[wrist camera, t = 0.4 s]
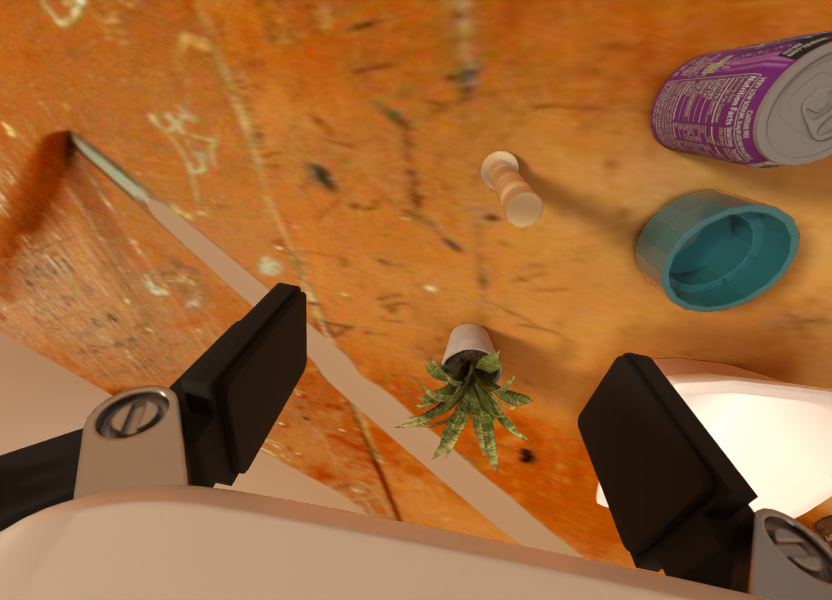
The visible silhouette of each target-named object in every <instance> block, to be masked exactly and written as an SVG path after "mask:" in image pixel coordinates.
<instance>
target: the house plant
mask: <svg viewBox="0 0 832 600" xmlns="http://www.w3.org/2000/svg"><path fill="white" fill-rule="evenodd" d="M429 358H430V357H429ZM424 359H425V358H424ZM430 360H431V361H432V363H433V364H434V366H433V365H430V364H429V363H427V362H426V360H425V363H426V368H427V371H428V373H429V374H430V375H431V376H432V377H433V378H435V379H438V380H441V381H445V382H446V383H447V385H446V386H445V387H443V388H441V389H438V390H436V391H433V392H432V391H431V390H429V389H427V388H424V387H422V386H420V387H421V388H422V389H423V390H424V391H425V392H426V394H427V395H425V396H424V397H421V398H419V397H418V398H419V399H421V400H422V401H424V403H422V404H417V405H414V406H412V407H426V406H429V405H432V404H436V403H438V402H440V403H439V404H438V405H437V406H435V407H434V408H432V409H428V410H426V411H427V412H425V413H424V414H421V415H418V416H412V417H410V418H415V419H417V420H415V421H413V422H410V423H406V424H402V425H400V426H398V427H396V428H405V427H432V426H437V425H441V424H444V423H447V422H448V424H447V426H446V427H445V429H444V431H443V433H442V438H441V443H440V445H439V447H438V448H437V450H436V451H435V454H434V457H433V459H434V458H436V457H438V456H439V455H441V454H442V453H443V452H445V451H446V449H447V455H446V457H447V456H448V455H449V453H450V451H451V450H452V448H453V447H454V445H455V443H456V440H457V438H458V437H459V435H460V433H461V432H462V430H463V428H464V426H465V424H466V422H467V420H468V417H469V414H470V411H471V415H472V422H473V428H474V430H475V432H474V433H476V435H477V437H478V441H479V445H480V448H481V450H482V452H483V454H484V457H485V452H486V454H487V455H488V457H489V460H490V462H491V465H492V466H493V467H494V469H495V470H496V471H497V472H498V456H497V448H496V442H495V436H494V426H493V420H494V419H495V417H496V418H497V419H498V420H499V421H500V423H501V424H502V425H503V426H504V427H505V428H506V429H508V430H509V431H510V432H511V433H512V434H514V435H515V436H517V437H519V438H522V439H524V440H526V441H528V440H527V438H526V437H525V436H524V435H523V434H522V433H520V432H519V431H518V430H517V428H516V427H515V425H514V424H513V423H512V422H511V421H510V420H509V419H508V418H507V417H506V416H508V415H504V413H503V412H502V411H501V409H500V408H499V406H498V404H497V403H499V404H500V405H502V406H505V407H506V408H508V409H510V410H511V409H515V408H517V407H508V406H506V405H505V404H503V403H501V402H499V401H498V400H497V399H496V398H495V397H494V396H493V395H492V393H491V392H493V393H494V394H495V395H496V396H498V397H499V398H500V399H501V400H503V401H505V402H506V403H509V404H512V405H515V406H521V405H524V404H528V403H530V402H532V401H533V400H531V399H530V398H529V397H528V396H526V395H523V394H520V393H517V392H513V391H509V390H507V389H508V388H509V386H510V385H511V384H512V383H513V381H514V378H515V375H514V376H513V377H512V378H511V379H510V380H509V381H508V382H507V383H505V384H504V385H503V386H502V387H500V386H498V385H496V384H497V383H498V381H499V380H500V378H501V375H502V366H501V363H500V350H499V351H498V352H497V353H496V352H495V349H494V347H493V344H492V342H491V340H490V337H489V335H488V332H487V331H486V330H485V329H484V328H483V327H482V326H480V325H477V324H473V323H466V324H462V325H459V326H458V327H456V328H455V329H454V330H453V331H452V333H451V335H450V338H449V342H448V345H447V348H446V352H445V355H444V358H443V362H442V364H439V363H438V362H436V361H435V360H434V359H431V358H430ZM456 390H457V392H456V393H455V391H456ZM454 393H455V394H454ZM496 402H497V403H496ZM457 403H458V404H457ZM456 404H457V406H456V409H455V411H454V413H453V414H452V415H451V416H450V417H449V418H447V419H445V420H443V421H441V422H438V423H434V424H429V425H421V424H424V423H426V422H429V421H431V420H432V419H434V418H436V417H438V416H440V415H443V414H444V413H446V412H448V411H449V410H451V409H452V408H453V407H454V406H455V405H456ZM424 410H425V409H424ZM418 425H421V426H418Z"/></svg>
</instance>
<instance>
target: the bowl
mask: <svg viewBox="0 0 832 600" xmlns="http://www.w3.org/2000/svg"><path fill="white" fill-rule="evenodd" d="M653 361H654V362H655V363H656V365H657V366H658V367H659V369H660V370H661V371H662V372H663V374H664V375H665V376H666V378H667V379H668V380H669V382H670V383H671V384H672V385H673V387H674V388H675V389H676V391H677V392H678V393H679V394H680V396H681V397H682V398H683V400H684V401H685V402H686V404H687V405H688V406H689V407H690V409H691V410H692V411H693V413H694V414H695V415H696V417H697V418H698V419H699V420H700V422H701V423H702V424H703V426H704V427H705V428H706V429H707V431H708V432H709V433H710V435H711V436H712V437H713V439H714V440H715V441H716V442H717V444H718V445H719V446H720V448H721V449H722V450H723V452H724V453H725V454H726V455H727V457H728V458H729V459H730V461H731V462H732V463H733V464H734V466H735V467H736V468H737V470H738V471H739V472H740V474H741V475H742V476H743V477H744V479H745V480H746V481H747V483H748V484H749V485H750V487H751V488H752V489H753V490H754V492H755V493H756V494H757V496H758V497H757V498H756V499H755V500H753V501H752V502H751V503H749V506H750V507H751V508H752V510H753V511H754V512H756V511H757V510H760V509H762V508H767V509H774V510H776V511H779V512H782V513H784V514H786V515H788V516H790V517H792V518H796V517H798V516H800V515H802V514H804V513H806V512H808V511H809V510H811V509H812V508H814V507H816V506H817V505H819V504H820V503H822V502H823V501H825V500H826V499H828V498H829V497H831V496H832V389H829V388H821V387H814V386H806V385H799V384H791V383H788V382H784V381H781V380H778V379H775V378H771V377H768V376H765V375H761V374H758V373H755V372H752V371H748V370H745V369H742V368H739V367H735V366H732V365H729V364H723V363H716V362H708V361H700V360H691V359H682V358H664V359H653ZM596 500H597V503H598V504H600V505H602V506H605V507H608V508H609V506H608V504H607V501H606V499H605V496H604V493H603V491H602V488H601V485H600V483H599V481H598V488H597V494H596Z"/></svg>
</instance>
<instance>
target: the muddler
mask: <svg viewBox="0 0 832 600" xmlns="http://www.w3.org/2000/svg"><path fill="white" fill-rule="evenodd" d="M518 173H519V164H518V161H517V159H516V158H515V157H514V156H513V155H512V154H511V153H510V152H508V151H505V150H496V151H493V152H491V153H490V154H488V155H487V156H486V157H485V158H484V160H483V162H482V164H481V167H480V175H481V178H482V181H483V183H484V184H485V186H486V187H488V188H489V189H491V190H495V192H496V194H497V196H498V199H499V201H500V203H501V206H502V208H503V210H504V212H505V215H506V217H507V219H508V221H509V222H510V223H511V224H512V225H514V226H516V227H520V228H524V227H528V226H531V225H533V224H534V223H535V222H537V221H538V219H539V218H540V216H541V214H542V211H543V203H542V201H541V199H540V198H539V196H538V195H537V194H536V193H535V192H534V191H533V190H532V188H531V187H530V186H529V185H528V184H527V183H526V182H525V180H524V179H523V178H522V177H521V176H520V175H519V174H518Z"/></svg>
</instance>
